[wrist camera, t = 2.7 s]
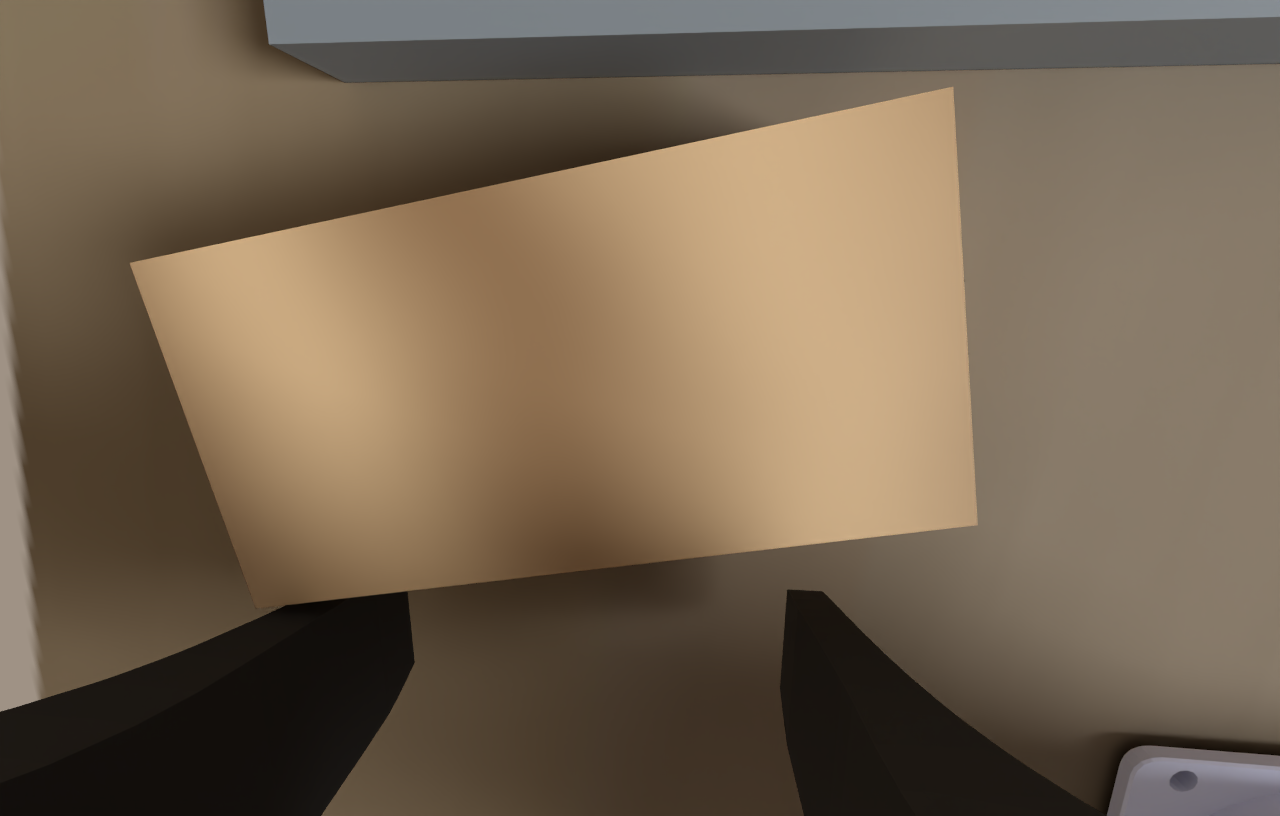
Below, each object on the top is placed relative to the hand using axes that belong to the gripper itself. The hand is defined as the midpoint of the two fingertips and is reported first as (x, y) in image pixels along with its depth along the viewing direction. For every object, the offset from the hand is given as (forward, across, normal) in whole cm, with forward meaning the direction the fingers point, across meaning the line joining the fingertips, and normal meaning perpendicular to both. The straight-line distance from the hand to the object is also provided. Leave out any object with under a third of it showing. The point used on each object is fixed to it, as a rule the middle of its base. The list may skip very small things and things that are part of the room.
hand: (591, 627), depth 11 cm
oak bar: (+2, 0, -5) cm, 5 cm away
